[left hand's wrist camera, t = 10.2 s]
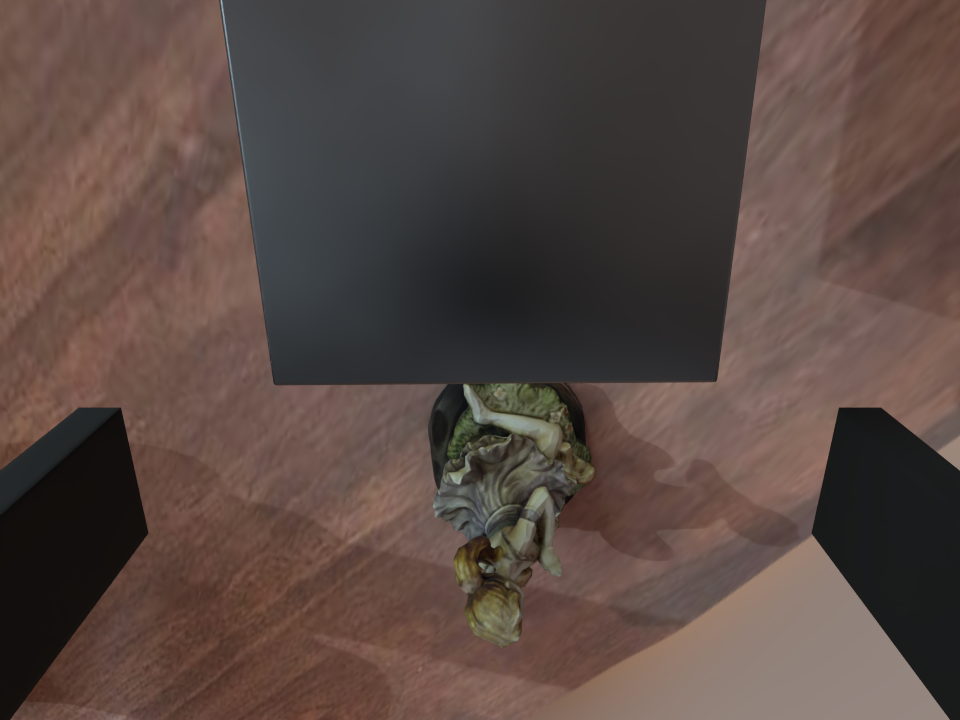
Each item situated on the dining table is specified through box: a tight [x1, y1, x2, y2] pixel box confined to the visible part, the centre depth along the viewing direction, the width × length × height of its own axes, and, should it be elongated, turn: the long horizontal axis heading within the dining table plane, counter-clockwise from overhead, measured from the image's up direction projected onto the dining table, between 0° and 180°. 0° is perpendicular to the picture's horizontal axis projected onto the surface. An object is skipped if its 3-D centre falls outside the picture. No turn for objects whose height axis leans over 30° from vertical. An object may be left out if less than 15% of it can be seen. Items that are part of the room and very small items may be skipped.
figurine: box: [428, 383, 595, 648], centre depth 37 cm, size 12×11×15 cm
